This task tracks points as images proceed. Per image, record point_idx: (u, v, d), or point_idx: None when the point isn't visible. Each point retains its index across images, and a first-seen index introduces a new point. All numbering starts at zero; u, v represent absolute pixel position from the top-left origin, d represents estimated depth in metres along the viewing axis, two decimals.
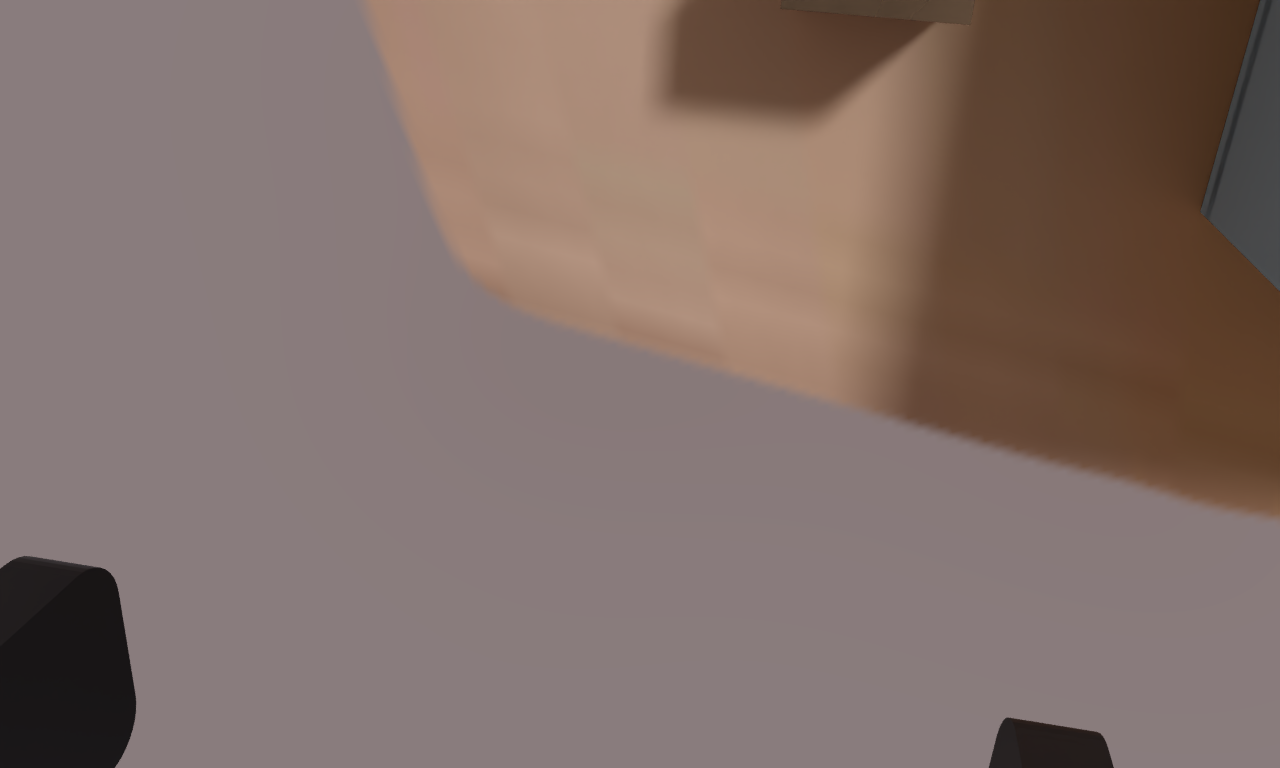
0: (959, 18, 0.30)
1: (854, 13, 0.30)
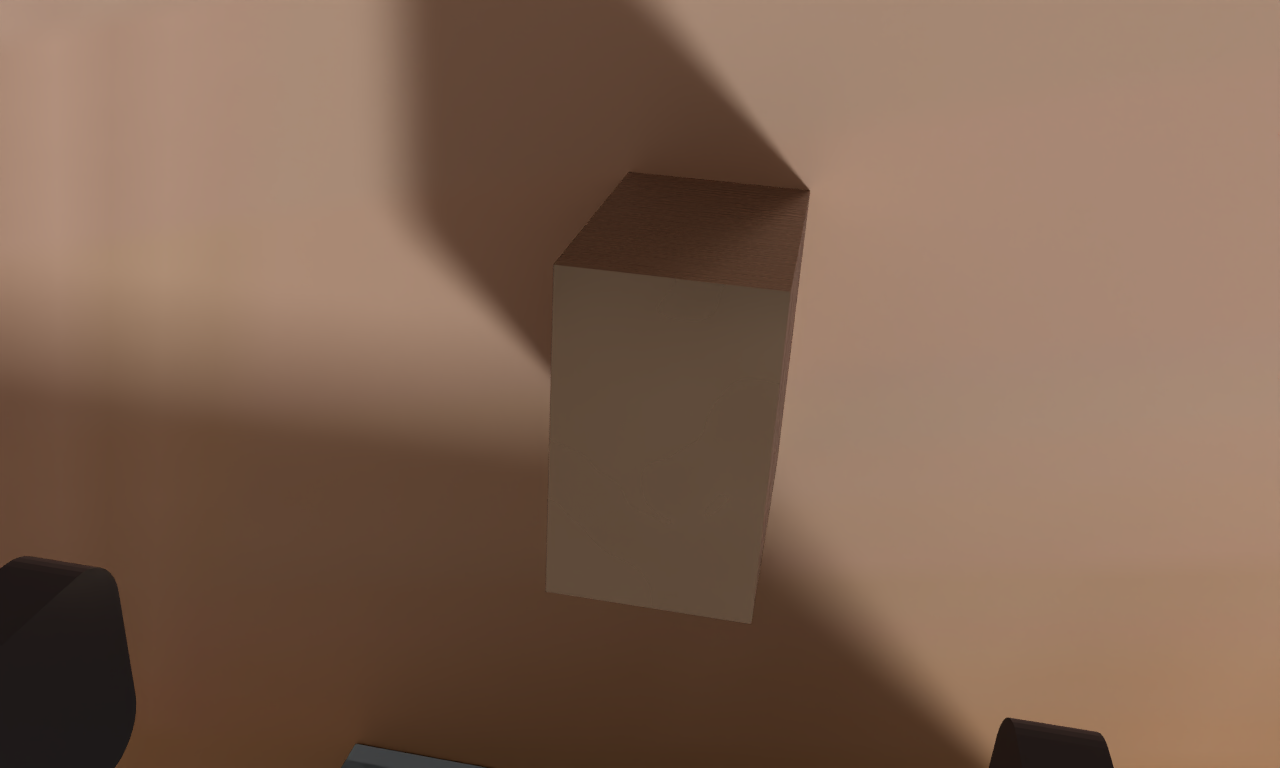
0: (555, 575, 0.16)
1: (553, 404, 0.15)
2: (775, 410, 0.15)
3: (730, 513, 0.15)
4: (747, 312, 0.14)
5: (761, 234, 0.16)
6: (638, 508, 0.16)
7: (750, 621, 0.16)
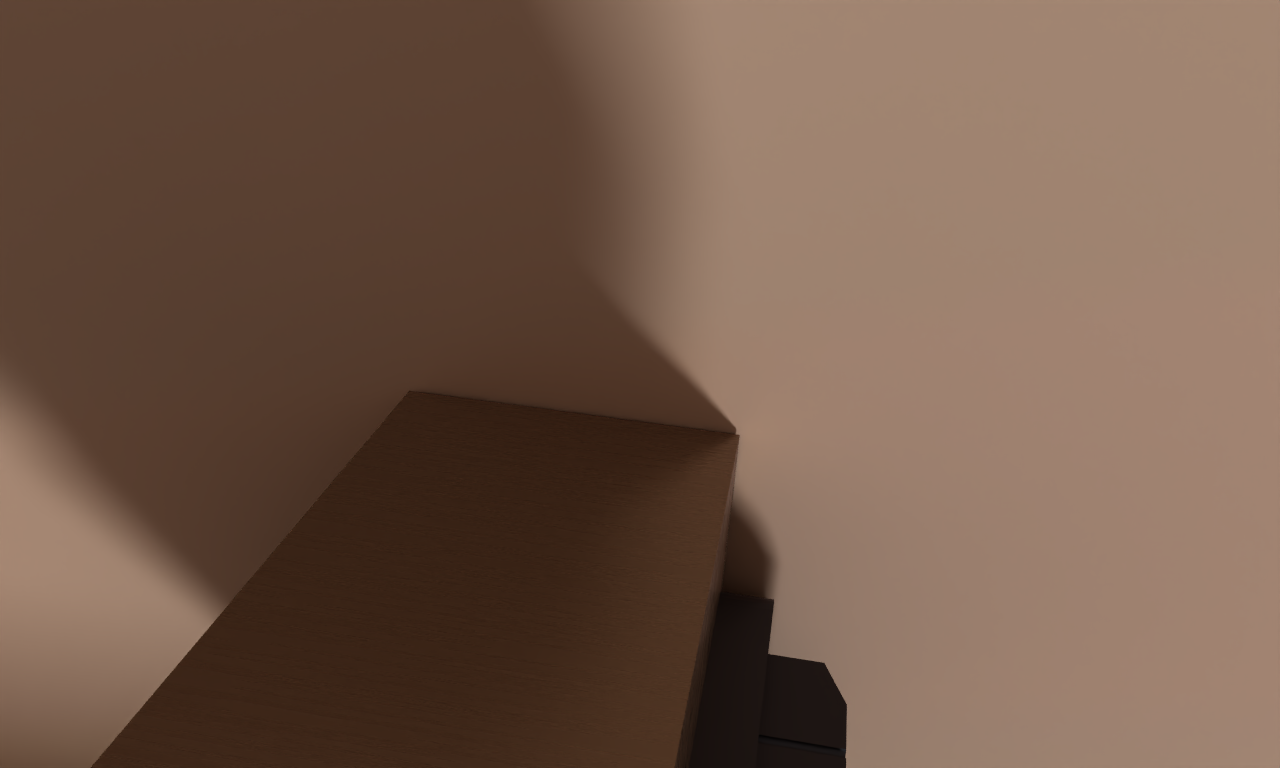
0: None
1: None
2: None
3: None
4: None
5: (617, 613, 0.07)
6: None
7: None
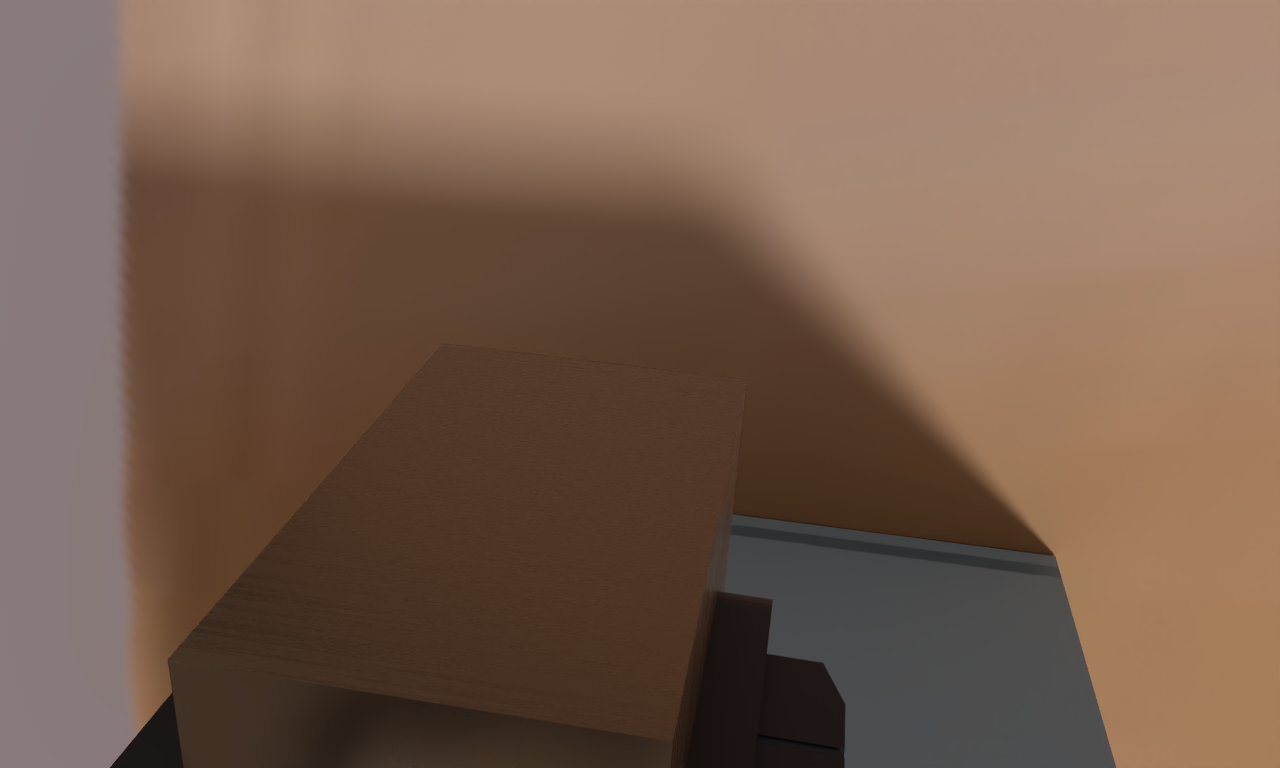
0: None
1: None
2: None
3: None
4: None
5: (640, 519, 0.08)
6: None
7: None
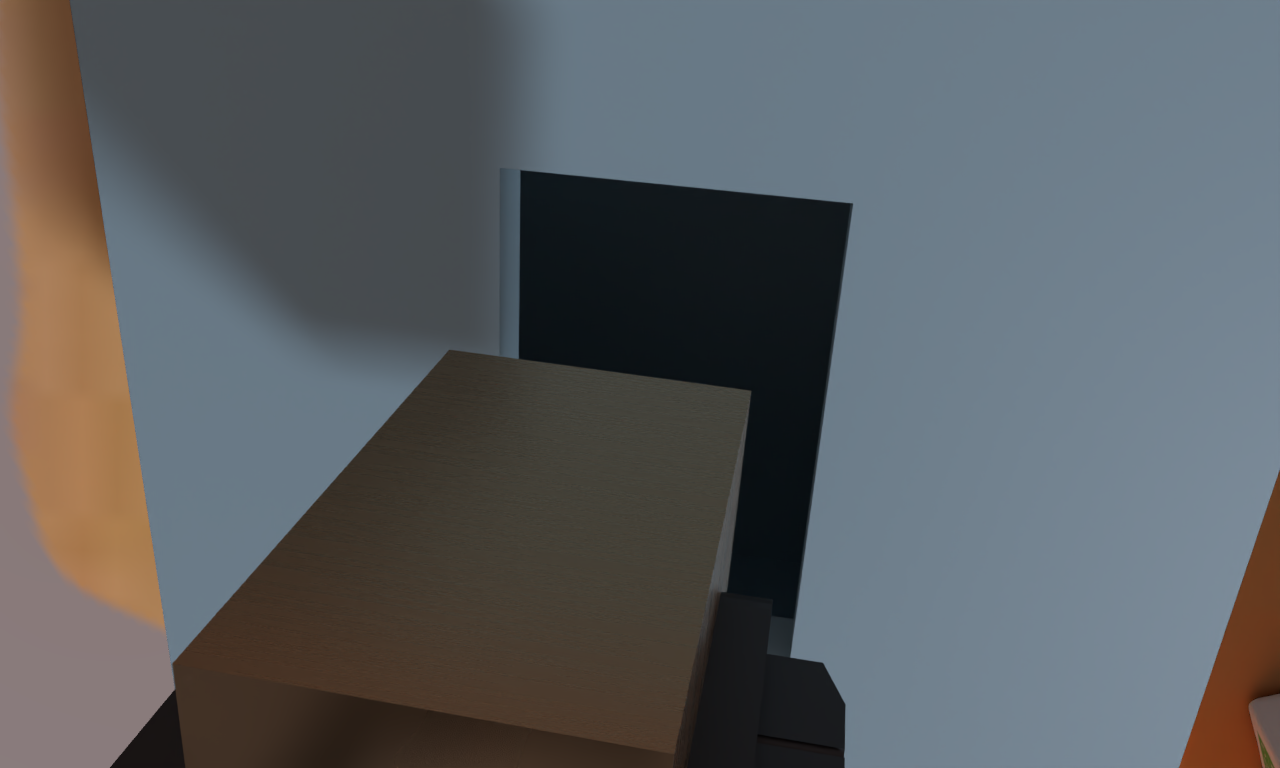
0: None
1: None
2: None
3: None
4: None
5: (644, 531, 0.08)
6: None
7: None
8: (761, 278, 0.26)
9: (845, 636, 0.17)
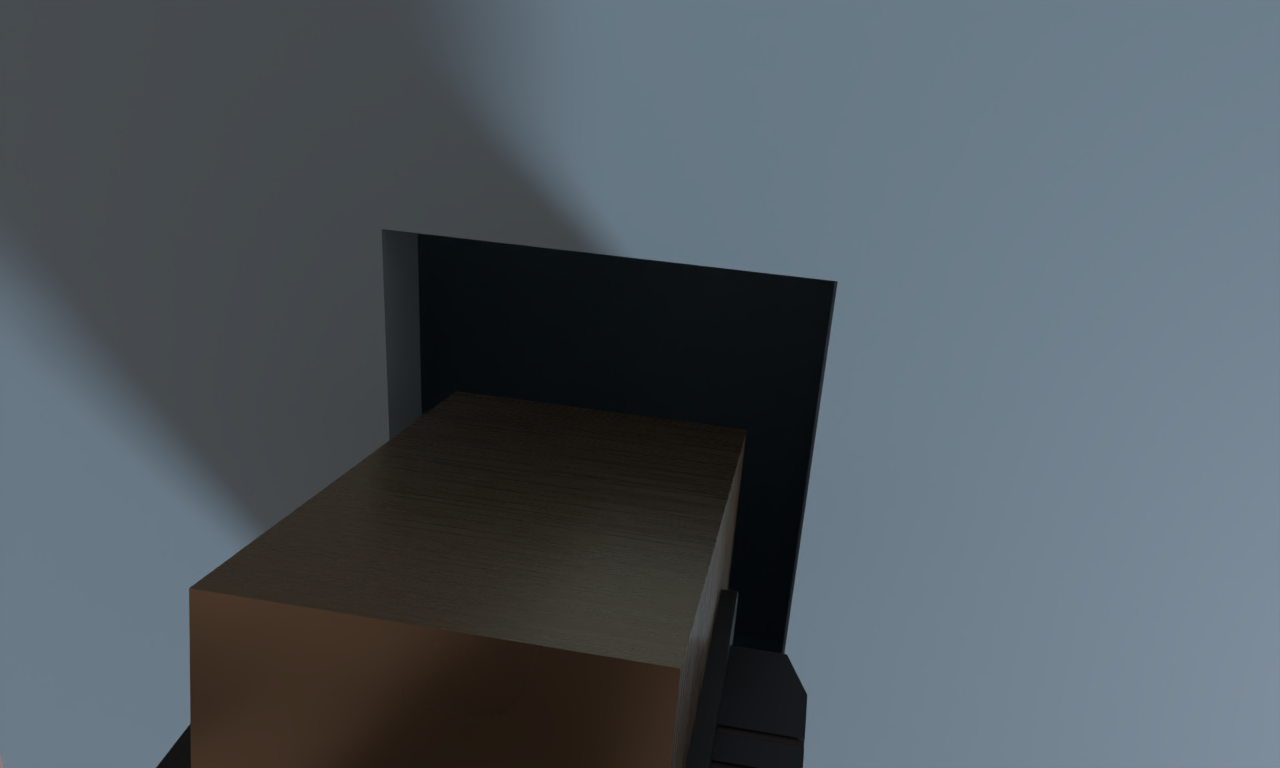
0: None
1: None
2: None
3: None
4: (589, 707, 0.07)
5: (646, 517, 0.09)
6: None
7: None
8: (737, 325, 0.23)
9: None
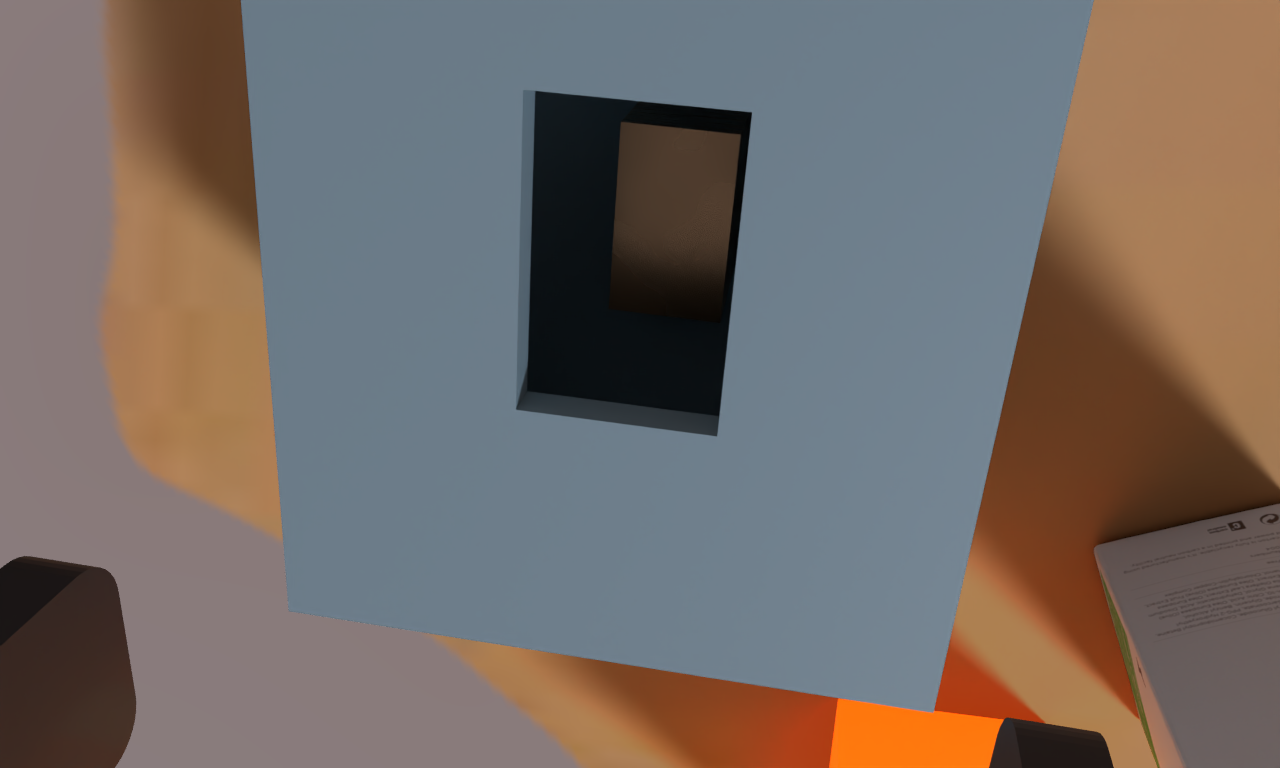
0: (614, 299, 0.30)
1: (617, 198, 0.29)
2: (733, 198, 0.28)
3: (709, 258, 0.29)
4: (719, 146, 0.28)
5: (726, 114, 0.30)
6: (661, 256, 0.29)
7: (719, 321, 0.30)
8: None
9: (754, 418, 0.24)
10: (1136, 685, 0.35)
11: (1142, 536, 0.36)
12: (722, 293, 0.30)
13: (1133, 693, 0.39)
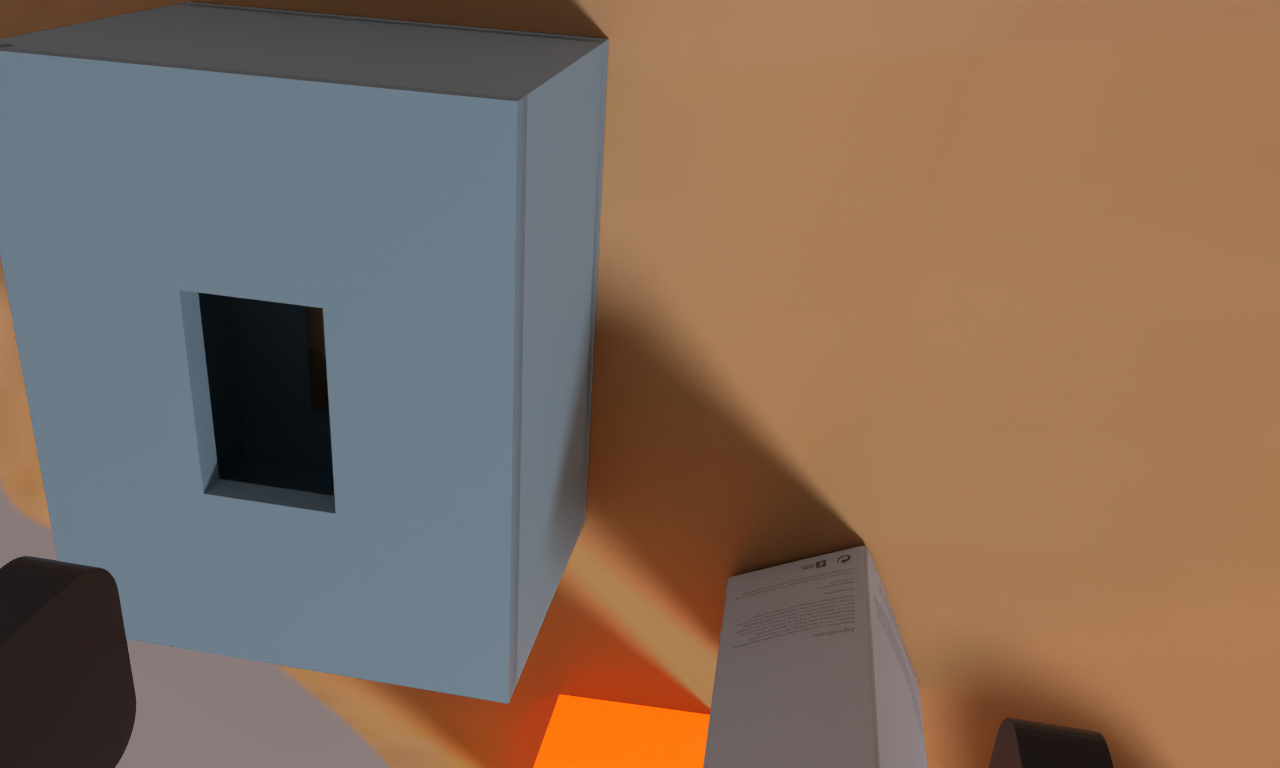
0: (314, 402, 0.41)
1: (307, 334, 0.40)
2: None
3: None
4: None
5: None
6: None
7: None
8: None
9: (357, 502, 0.35)
10: None
11: (760, 570, 0.48)
12: None
13: None
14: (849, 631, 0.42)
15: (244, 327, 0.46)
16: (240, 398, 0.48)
